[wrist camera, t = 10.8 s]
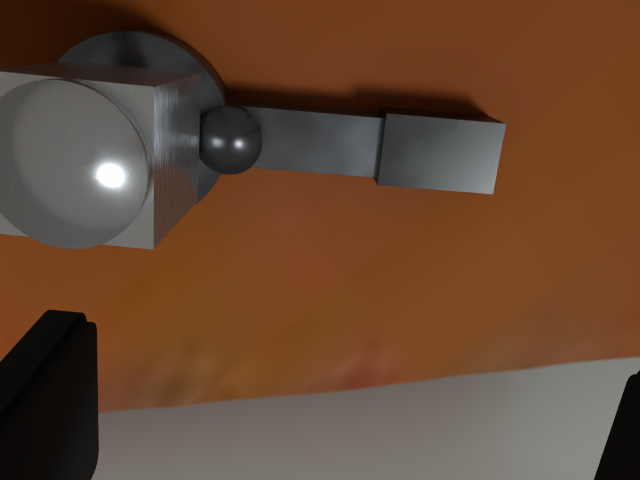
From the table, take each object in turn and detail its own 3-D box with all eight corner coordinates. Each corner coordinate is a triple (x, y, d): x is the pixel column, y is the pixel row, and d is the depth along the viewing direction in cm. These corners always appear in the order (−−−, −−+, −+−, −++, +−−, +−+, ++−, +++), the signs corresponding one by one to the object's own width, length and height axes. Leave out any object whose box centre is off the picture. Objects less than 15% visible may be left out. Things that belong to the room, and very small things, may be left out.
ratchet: (498, 64, 32) (554, 74, 25) (469, 227, 35) (512, 275, 28) (54, 22, 30) (-11, 21, 23) (62, 198, 33) (7, 242, 26)
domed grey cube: (201, 73, 28) (146, 89, 20) (197, 200, 30) (146, 256, 22) (70, 60, 28) (-32, 71, 20) (75, 188, 30) (-16, 240, 22)
